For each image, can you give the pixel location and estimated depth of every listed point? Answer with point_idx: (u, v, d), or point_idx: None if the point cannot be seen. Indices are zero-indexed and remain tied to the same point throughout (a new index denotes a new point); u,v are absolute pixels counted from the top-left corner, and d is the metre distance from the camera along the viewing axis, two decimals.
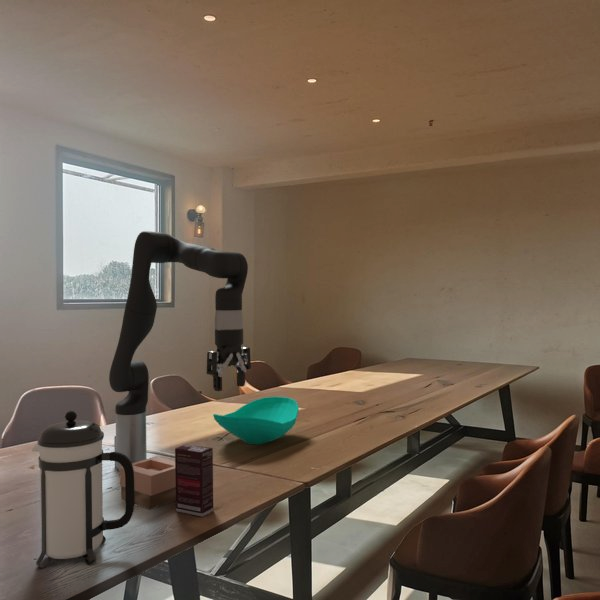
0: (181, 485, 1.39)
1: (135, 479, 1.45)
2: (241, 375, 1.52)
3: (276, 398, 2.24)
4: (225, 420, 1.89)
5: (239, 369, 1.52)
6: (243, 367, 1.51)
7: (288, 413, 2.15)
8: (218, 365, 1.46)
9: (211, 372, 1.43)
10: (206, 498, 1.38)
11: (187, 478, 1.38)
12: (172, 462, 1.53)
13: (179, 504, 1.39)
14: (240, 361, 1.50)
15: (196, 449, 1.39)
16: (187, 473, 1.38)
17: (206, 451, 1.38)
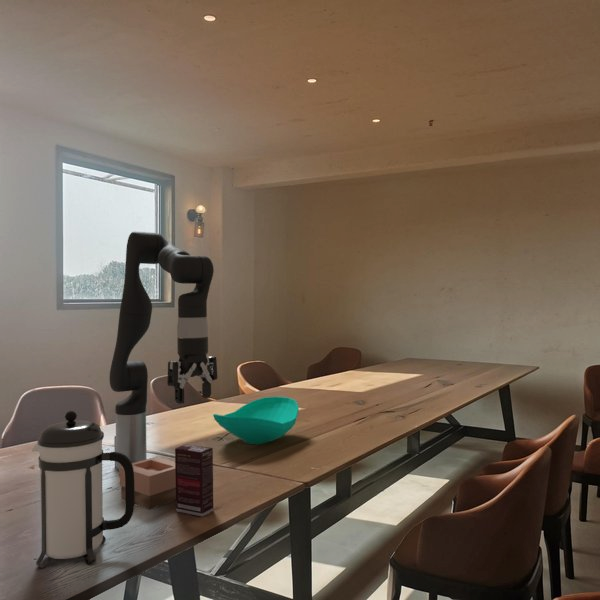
0: (181, 485, 1.39)
1: (134, 479, 1.45)
2: (206, 386, 1.43)
3: (276, 398, 2.24)
4: (225, 420, 1.89)
5: (204, 380, 1.44)
6: (208, 378, 1.43)
7: (288, 413, 2.15)
8: (180, 376, 1.37)
9: (172, 383, 1.34)
10: (206, 498, 1.38)
11: (187, 478, 1.38)
12: (172, 462, 1.53)
13: (180, 504, 1.39)
14: (205, 371, 1.41)
15: (196, 449, 1.39)
16: (187, 473, 1.38)
17: (206, 451, 1.38)
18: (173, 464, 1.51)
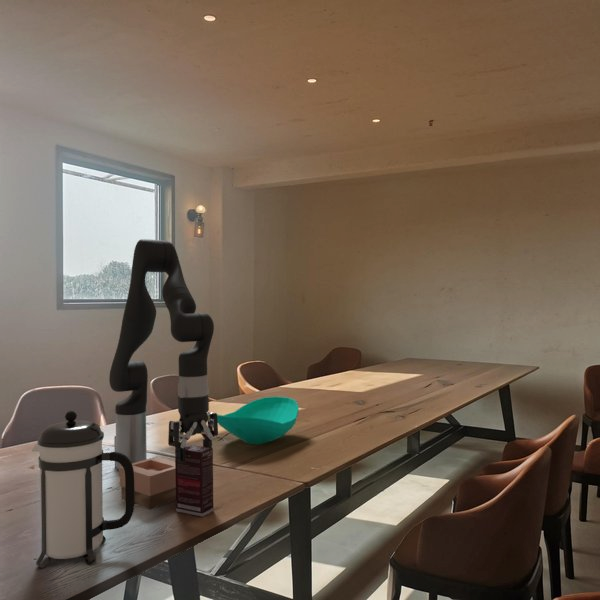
0: (181, 485, 1.39)
1: (134, 479, 1.45)
2: (207, 443, 1.43)
3: (276, 398, 2.24)
4: (225, 420, 1.89)
5: (205, 436, 1.44)
6: (209, 434, 1.43)
7: (288, 413, 2.15)
8: (181, 435, 1.37)
9: (173, 444, 1.34)
10: (207, 498, 1.38)
11: (187, 478, 1.38)
12: (172, 462, 1.52)
13: (180, 504, 1.39)
14: (206, 429, 1.41)
15: (196, 449, 1.39)
16: (187, 473, 1.38)
17: (206, 451, 1.38)
18: (173, 464, 1.51)
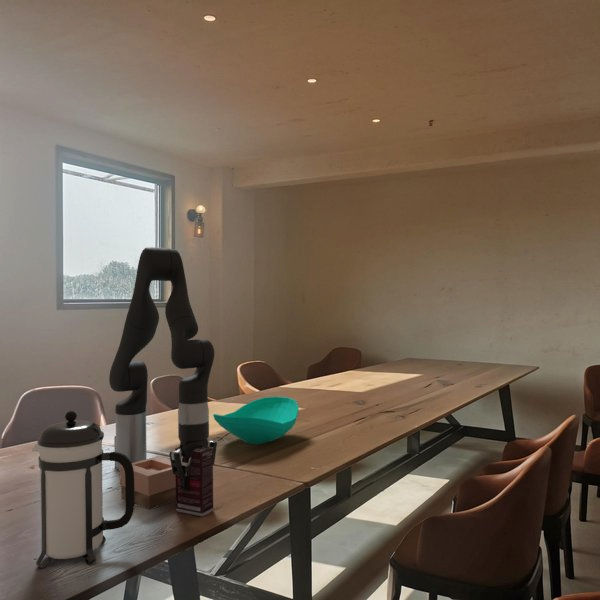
0: None
1: (134, 479, 1.45)
2: None
3: (276, 398, 2.24)
4: (225, 420, 1.89)
5: None
6: None
7: (288, 413, 2.15)
8: (183, 463, 1.38)
9: (177, 473, 1.35)
10: (206, 498, 1.38)
11: None
12: None
13: (179, 504, 1.39)
14: None
15: None
16: None
17: (206, 451, 1.38)
18: None
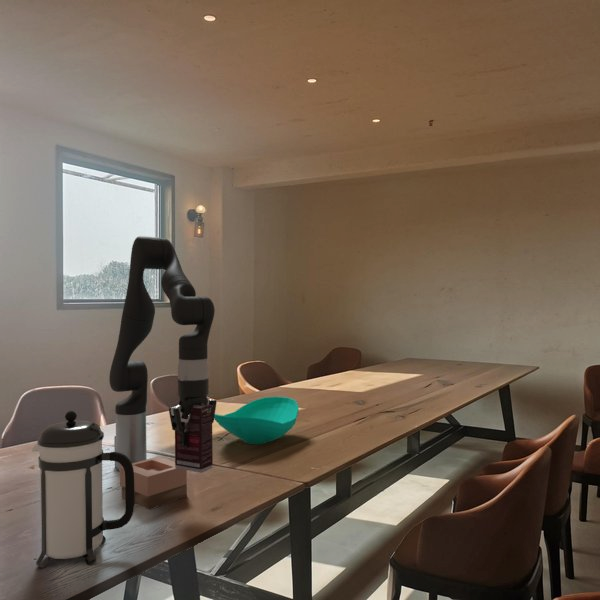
0: None
1: None
2: None
3: (276, 398, 2.24)
4: (225, 420, 1.89)
5: None
6: None
7: (288, 413, 2.15)
8: (183, 420, 1.38)
9: (177, 428, 1.35)
10: (206, 454, 1.38)
11: None
12: (172, 463, 1.52)
13: (179, 461, 1.39)
14: None
15: (196, 406, 1.38)
16: None
17: (206, 408, 1.38)
18: (173, 464, 1.51)
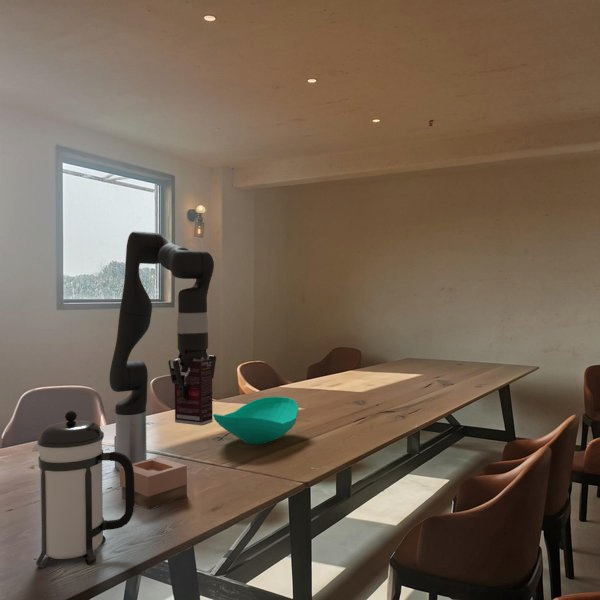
0: None
1: (134, 479, 1.45)
2: None
3: (276, 398, 2.24)
4: (225, 420, 1.89)
5: None
6: None
7: (288, 413, 2.15)
8: (183, 373, 1.38)
9: (176, 381, 1.35)
10: (206, 408, 1.38)
11: None
12: (172, 463, 1.52)
13: (179, 415, 1.39)
14: None
15: None
16: None
17: (205, 361, 1.38)
18: (173, 465, 1.50)
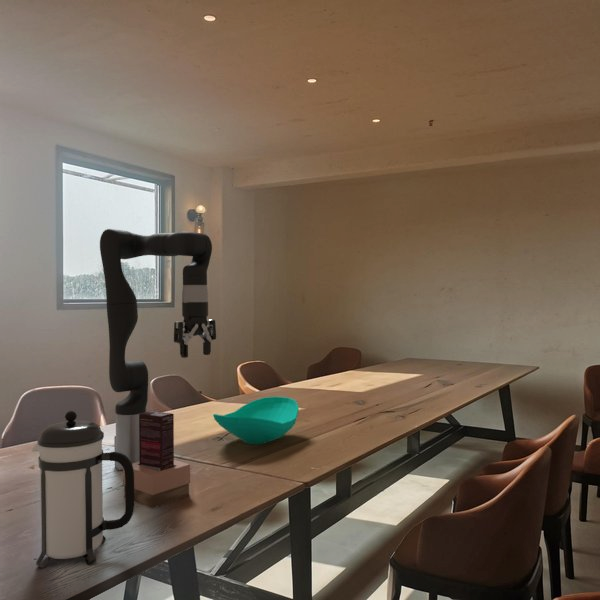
0: (144, 447, 1.50)
1: (138, 478, 1.46)
2: (207, 344, 1.67)
3: (276, 398, 2.24)
4: (225, 420, 1.89)
5: (205, 339, 1.68)
6: (208, 337, 1.67)
7: (288, 413, 2.15)
8: (184, 334, 1.61)
9: (177, 340, 1.58)
10: (167, 459, 1.48)
11: (149, 441, 1.49)
12: (175, 462, 1.53)
13: (142, 465, 1.50)
14: (205, 331, 1.65)
15: (158, 414, 1.49)
16: (149, 436, 1.49)
17: (167, 416, 1.48)
18: (176, 463, 1.52)
